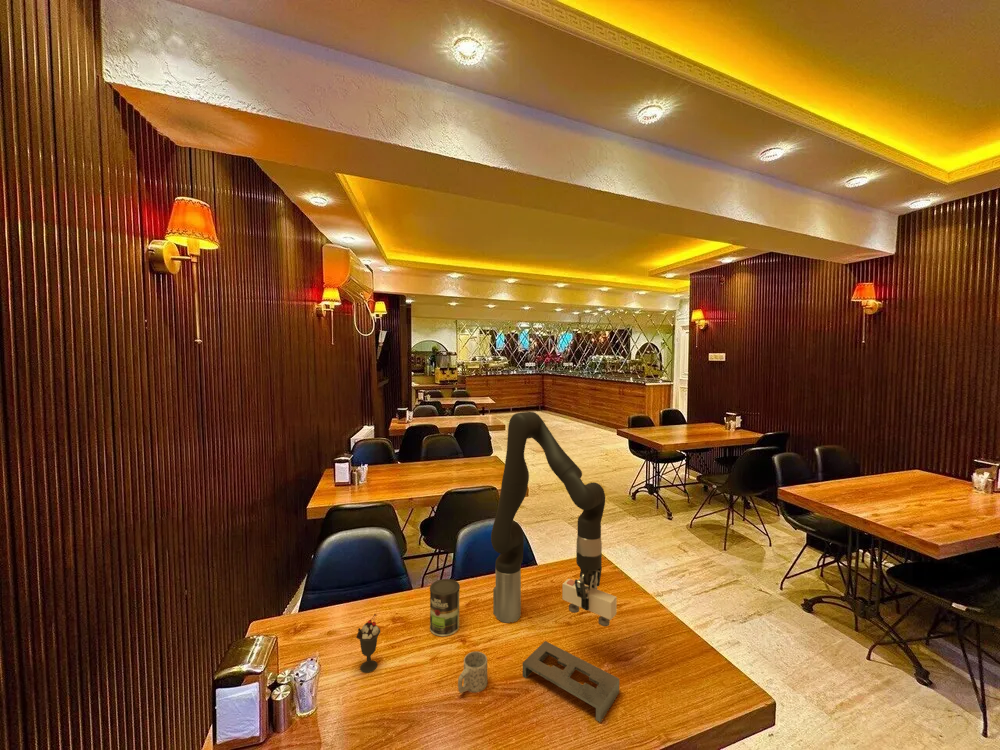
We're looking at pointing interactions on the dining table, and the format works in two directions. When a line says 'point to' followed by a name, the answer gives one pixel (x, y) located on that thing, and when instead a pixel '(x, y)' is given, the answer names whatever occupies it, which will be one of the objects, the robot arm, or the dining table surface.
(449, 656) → the dining table surface
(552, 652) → the slotted board
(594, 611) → the cream rectangular block
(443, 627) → the coffee can
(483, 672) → the mug
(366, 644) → the sundae
